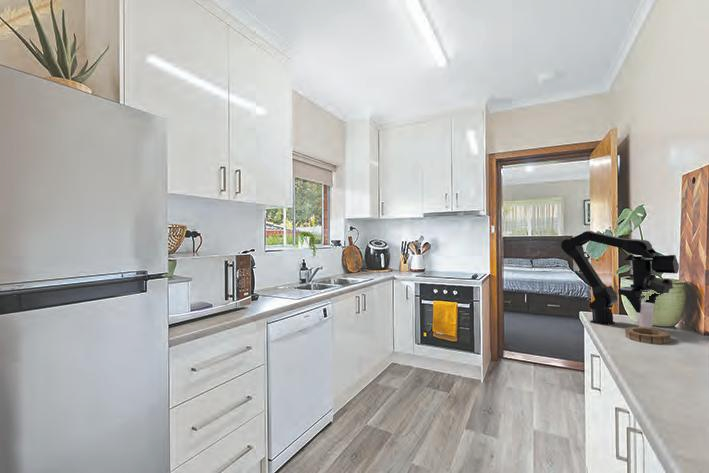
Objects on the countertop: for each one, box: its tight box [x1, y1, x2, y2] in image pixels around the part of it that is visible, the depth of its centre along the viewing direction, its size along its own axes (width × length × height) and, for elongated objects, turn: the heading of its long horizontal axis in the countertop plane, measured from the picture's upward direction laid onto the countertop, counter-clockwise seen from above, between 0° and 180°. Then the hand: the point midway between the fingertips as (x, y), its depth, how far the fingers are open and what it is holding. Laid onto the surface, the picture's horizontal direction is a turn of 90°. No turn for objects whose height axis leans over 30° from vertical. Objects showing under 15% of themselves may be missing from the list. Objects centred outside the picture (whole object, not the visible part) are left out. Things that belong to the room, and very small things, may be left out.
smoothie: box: [635, 293, 656, 328], centre depth 130 cm, size 6×6×14 cm
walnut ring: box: [624, 326, 671, 345], centre depth 121 cm, size 12×12×2 cm
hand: (644, 311), depth 130 cm, fingers closed on smoothie, 6 cm apart
